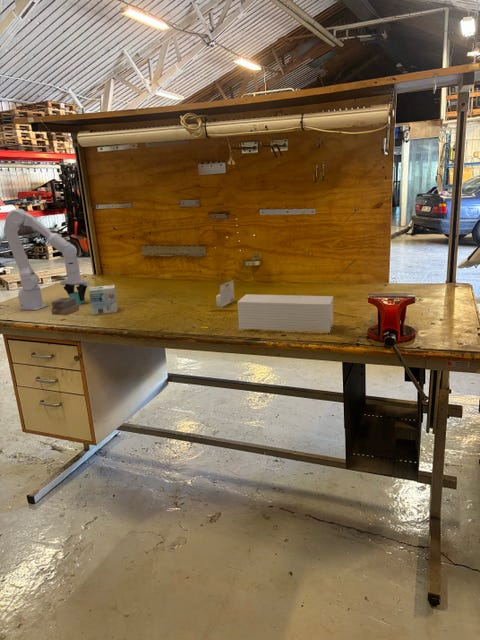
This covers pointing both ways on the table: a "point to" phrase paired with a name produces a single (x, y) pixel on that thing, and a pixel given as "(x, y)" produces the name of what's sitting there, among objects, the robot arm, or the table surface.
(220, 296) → the ink cartridge box
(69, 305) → the top slab
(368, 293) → the table surface
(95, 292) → the light bulb box
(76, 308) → the bottom slab
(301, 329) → the stack of papers
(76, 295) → the teal block
